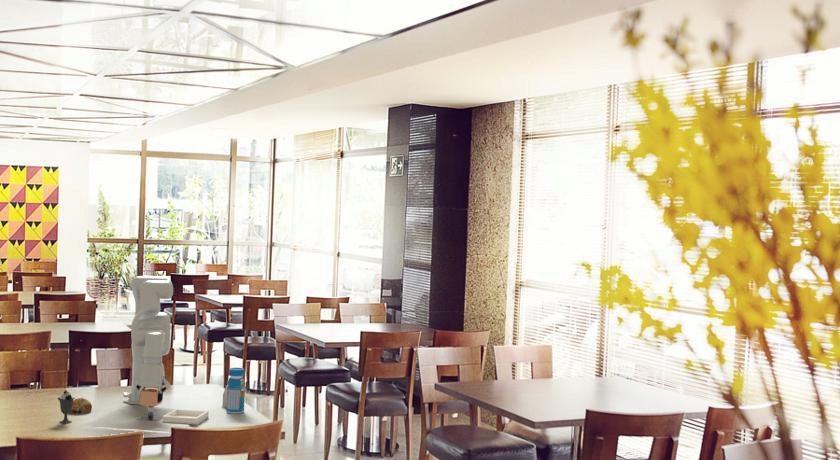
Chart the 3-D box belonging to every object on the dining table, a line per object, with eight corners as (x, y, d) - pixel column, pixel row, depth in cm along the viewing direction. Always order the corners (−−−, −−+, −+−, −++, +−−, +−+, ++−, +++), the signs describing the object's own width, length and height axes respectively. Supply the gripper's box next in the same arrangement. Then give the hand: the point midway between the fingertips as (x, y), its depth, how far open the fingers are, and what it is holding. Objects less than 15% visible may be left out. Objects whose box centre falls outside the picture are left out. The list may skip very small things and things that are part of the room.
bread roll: (93, 420, 364) (99, 402, 368) (78, 414, 356) (85, 396, 359) (75, 417, 368) (81, 400, 371) (60, 411, 359) (67, 393, 362)
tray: (162, 423, 348) (162, 416, 348) (175, 415, 363) (175, 409, 363) (196, 425, 347) (196, 418, 347) (208, 417, 362) (208, 411, 362)
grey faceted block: (233, 409, 382) (234, 387, 382) (222, 407, 385) (223, 385, 385) (238, 407, 385) (239, 386, 385) (227, 405, 388) (228, 384, 388)
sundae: (59, 420, 346) (61, 384, 346) (76, 420, 347) (77, 385, 347) (54, 424, 339) (55, 387, 340) (70, 424, 340) (72, 388, 340)
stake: (134, 421, 350) (135, 404, 350) (144, 416, 360) (144, 399, 360) (156, 422, 349) (157, 405, 349) (166, 417, 359) (166, 401, 359)
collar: (139, 405, 352) (140, 391, 352) (146, 401, 359) (147, 387, 359) (155, 406, 351) (156, 392, 351) (161, 402, 358) (162, 389, 358)
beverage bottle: (228, 414, 370) (230, 370, 370) (223, 410, 378) (225, 367, 378) (246, 413, 374) (248, 369, 374) (241, 409, 381) (243, 366, 382)
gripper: (130, 360, 352) (128, 401, 352) (169, 363, 350) (167, 404, 351) (137, 357, 359) (135, 397, 360) (175, 360, 358) (173, 400, 358)
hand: (151, 400), depth 355 cm, fingers closed on collar, 7 cm apart
